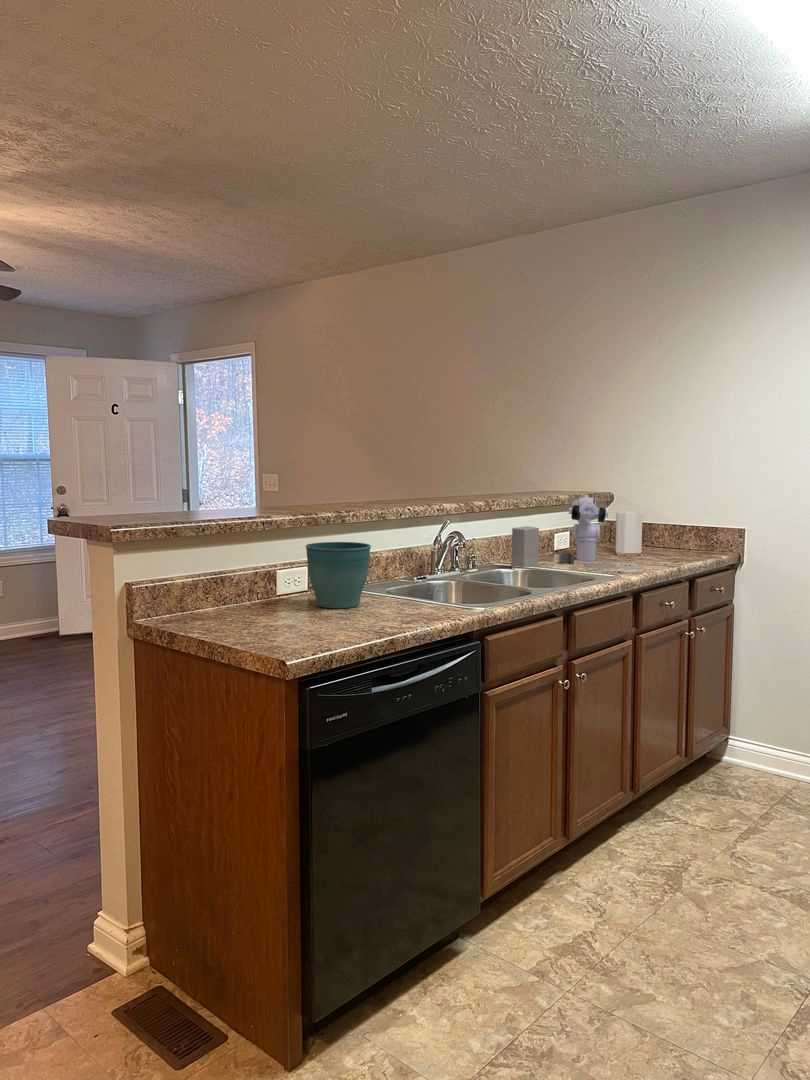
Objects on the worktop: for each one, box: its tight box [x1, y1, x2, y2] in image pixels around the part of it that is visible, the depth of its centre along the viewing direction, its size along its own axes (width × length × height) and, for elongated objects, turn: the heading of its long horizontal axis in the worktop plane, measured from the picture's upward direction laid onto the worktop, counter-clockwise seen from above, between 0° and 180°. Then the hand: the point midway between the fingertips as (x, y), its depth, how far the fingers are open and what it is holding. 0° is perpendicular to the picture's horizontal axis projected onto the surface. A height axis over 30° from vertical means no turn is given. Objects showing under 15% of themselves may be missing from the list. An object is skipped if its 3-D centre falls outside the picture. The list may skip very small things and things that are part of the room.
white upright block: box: [614, 510, 644, 553], centre depth 344 cm, size 11×11×18 cm
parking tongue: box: [554, 561, 579, 566], centre depth 304 cm, size 8×8×2 cm
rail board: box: [581, 562, 644, 570], centre depth 298 cm, size 14×20×2 cm
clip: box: [558, 551, 575, 566], centre depth 304 cm, size 5×5×4 cm
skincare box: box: [510, 525, 540, 568], centre depth 298 cm, size 8×7×16 cm
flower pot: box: [305, 541, 372, 609], centre depth 223 cm, size 18×18×17 cm
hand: (589, 517), depth 295 cm, fingers open, 7 cm apart
